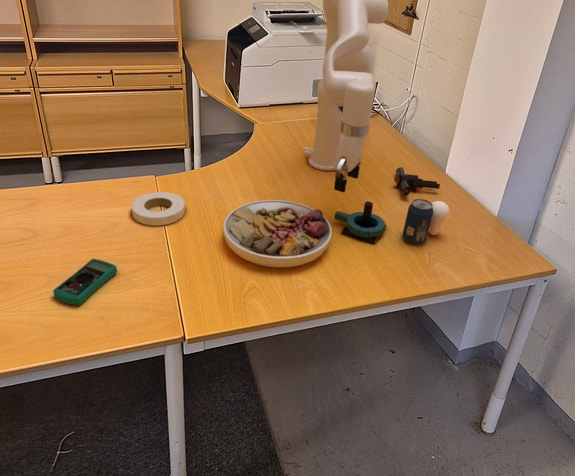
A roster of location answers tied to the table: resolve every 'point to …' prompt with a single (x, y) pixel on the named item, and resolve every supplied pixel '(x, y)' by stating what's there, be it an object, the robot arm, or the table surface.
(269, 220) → the bowl
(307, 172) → the table surface
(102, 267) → the digital multimeter
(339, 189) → the robot arm
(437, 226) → the lightbulb
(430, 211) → the soda can
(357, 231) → the ring
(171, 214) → the tape roll
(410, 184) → the black plastic t-shaped piece
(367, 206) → the ring stand
